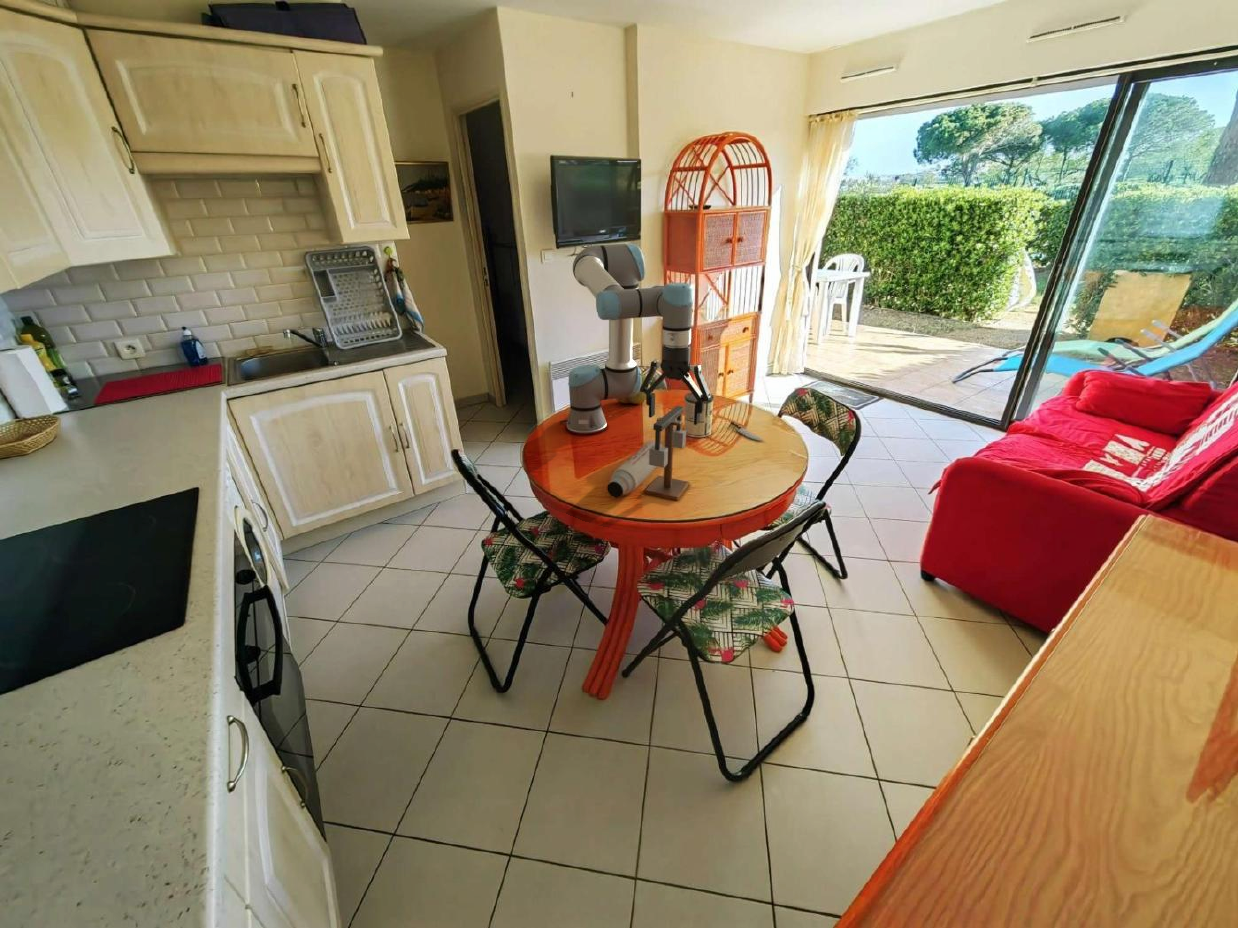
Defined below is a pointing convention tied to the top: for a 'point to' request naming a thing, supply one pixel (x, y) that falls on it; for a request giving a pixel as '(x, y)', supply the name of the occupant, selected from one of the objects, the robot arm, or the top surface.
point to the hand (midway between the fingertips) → (673, 419)
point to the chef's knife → (746, 432)
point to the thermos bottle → (631, 472)
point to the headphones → (657, 453)
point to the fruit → (638, 397)
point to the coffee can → (705, 417)
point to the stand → (668, 472)
